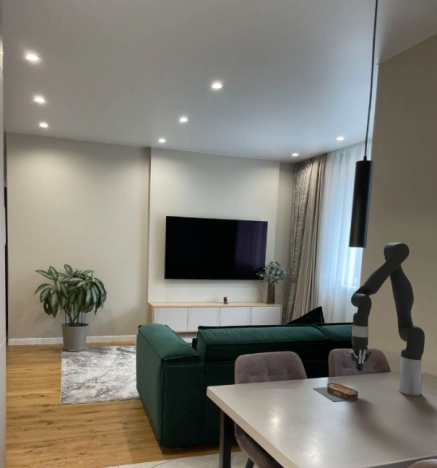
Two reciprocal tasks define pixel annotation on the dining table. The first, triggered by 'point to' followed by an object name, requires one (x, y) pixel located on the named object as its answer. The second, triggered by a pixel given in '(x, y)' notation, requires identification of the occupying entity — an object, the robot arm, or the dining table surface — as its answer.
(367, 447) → the dining table surface
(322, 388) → the mat
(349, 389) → the tin
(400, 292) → the robot arm
